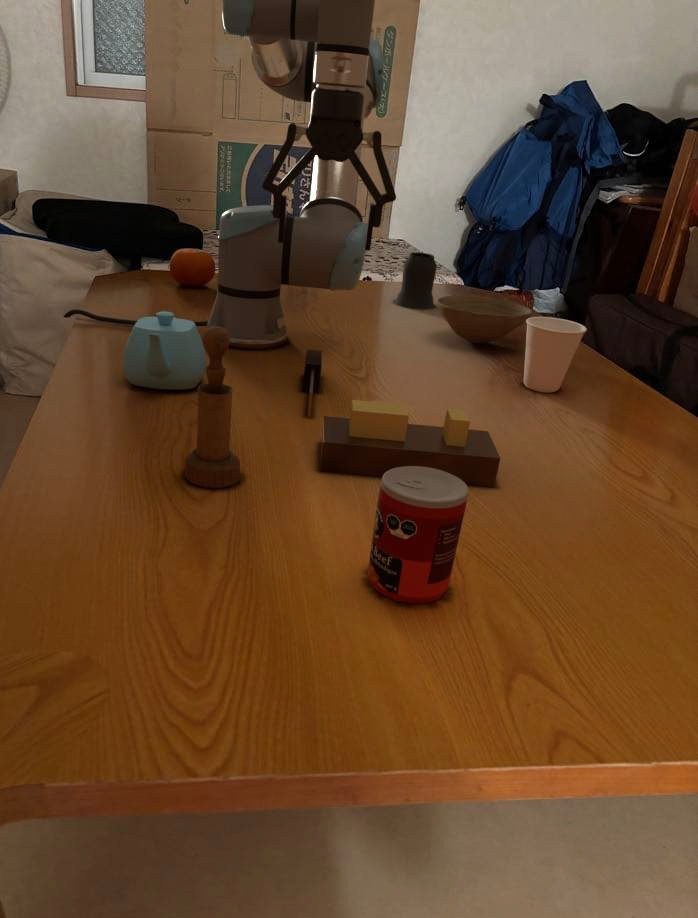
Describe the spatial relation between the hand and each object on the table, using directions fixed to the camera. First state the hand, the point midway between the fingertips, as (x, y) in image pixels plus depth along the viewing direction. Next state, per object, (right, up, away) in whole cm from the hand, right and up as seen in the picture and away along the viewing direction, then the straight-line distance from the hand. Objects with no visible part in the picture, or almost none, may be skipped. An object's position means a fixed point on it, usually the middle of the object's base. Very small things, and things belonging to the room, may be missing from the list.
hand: (324, 245), depth 121 cm
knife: (-2, -23, +1) cm, 23 cm away
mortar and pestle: (-15, -39, -28) cm, 50 cm away
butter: (+6, -33, -22) cm, 40 cm away
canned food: (+6, -51, -45) cm, 68 cm away
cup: (+38, -20, +14) cm, 45 cm away
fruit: (-29, +14, +62) cm, 69 cm away
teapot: (-25, -22, 0) cm, 33 cm away
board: (+10, -36, -20) cm, 43 cm away
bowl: (+33, -6, +36) cm, 49 cm away
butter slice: (+16, -33, -22) cm, 43 cm away
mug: (+24, +10, +64) cm, 69 cm away
